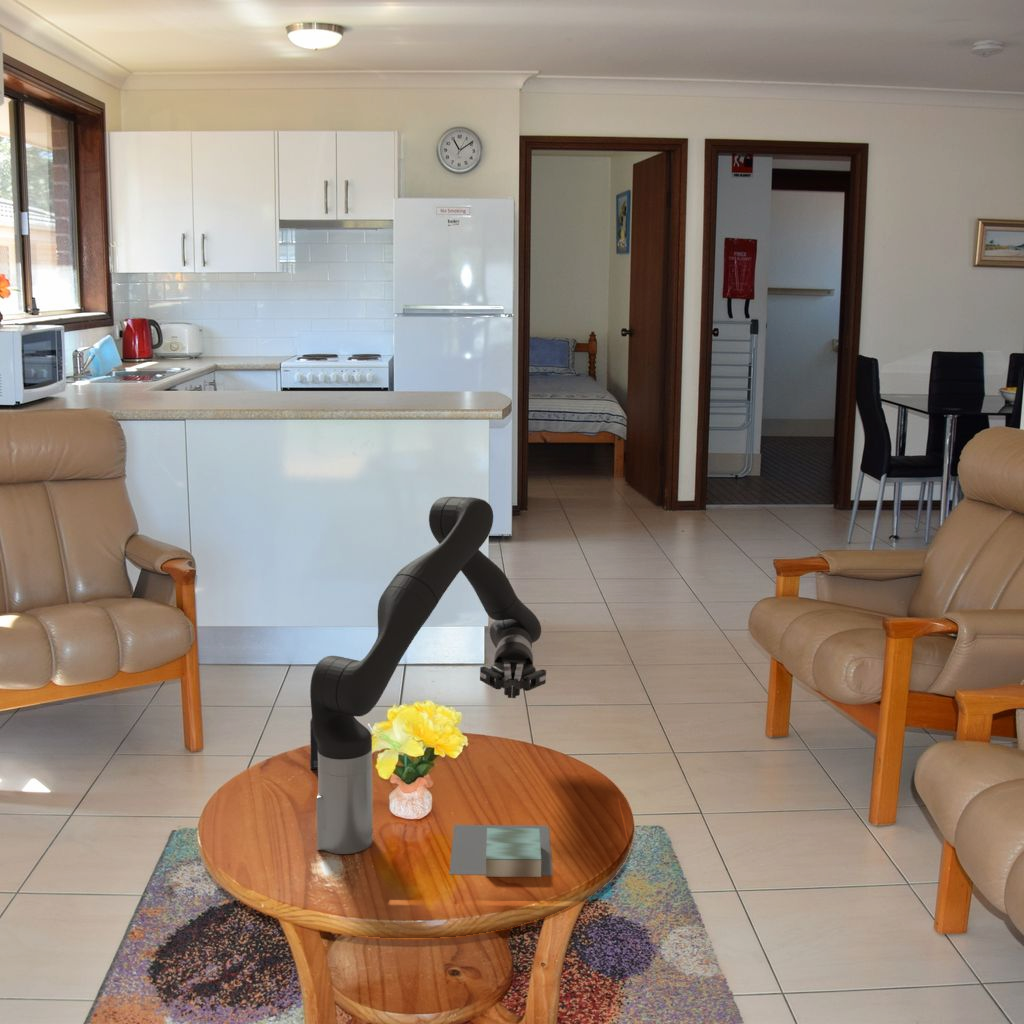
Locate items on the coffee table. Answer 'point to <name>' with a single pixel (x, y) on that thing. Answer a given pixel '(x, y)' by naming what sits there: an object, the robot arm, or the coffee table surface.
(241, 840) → the coffee table surface
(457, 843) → the rubber mat
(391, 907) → the coffee table surface
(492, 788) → the coffee table surface
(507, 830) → the green flat block
